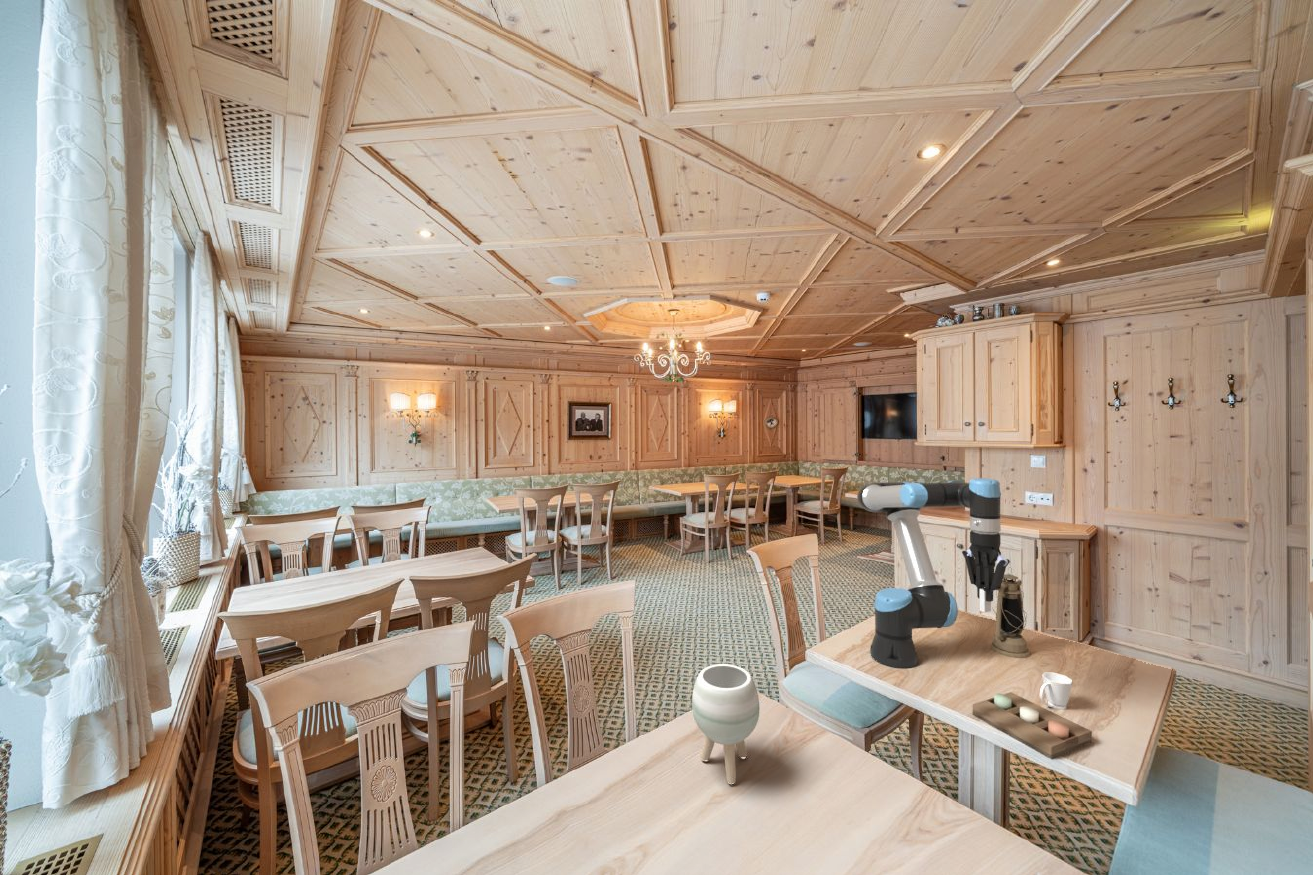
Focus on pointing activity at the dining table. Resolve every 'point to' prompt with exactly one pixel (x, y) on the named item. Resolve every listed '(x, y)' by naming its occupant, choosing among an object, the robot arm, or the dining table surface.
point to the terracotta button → (1058, 729)
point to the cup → (1056, 689)
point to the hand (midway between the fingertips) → (985, 610)
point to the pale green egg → (1002, 701)
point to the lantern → (1010, 620)
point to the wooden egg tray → (1032, 726)
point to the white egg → (1029, 715)
